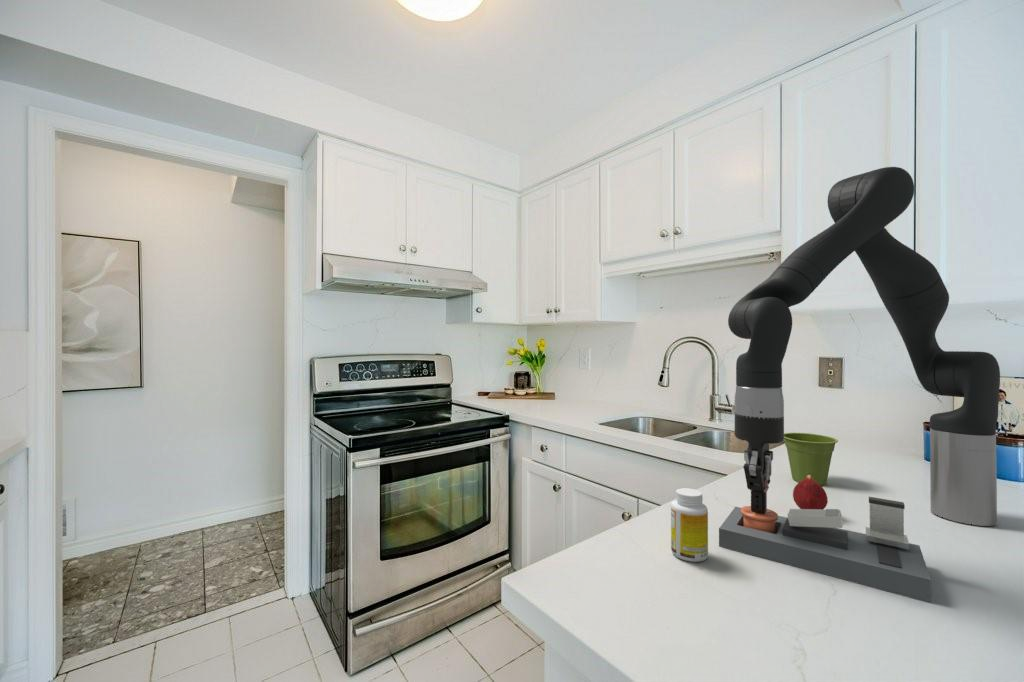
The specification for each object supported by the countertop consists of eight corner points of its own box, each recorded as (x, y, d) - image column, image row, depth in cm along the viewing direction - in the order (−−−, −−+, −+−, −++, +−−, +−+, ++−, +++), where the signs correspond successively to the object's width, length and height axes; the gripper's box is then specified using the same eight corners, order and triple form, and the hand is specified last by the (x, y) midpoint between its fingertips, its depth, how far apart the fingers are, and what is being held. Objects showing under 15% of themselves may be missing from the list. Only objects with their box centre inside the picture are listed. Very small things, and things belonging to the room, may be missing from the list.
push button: (744, 527, 79) (744, 503, 79) (780, 536, 76) (779, 510, 76) (737, 538, 75) (737, 512, 75) (775, 547, 72) (775, 520, 72)
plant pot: (770, 476, 114) (770, 433, 114) (807, 473, 117) (806, 431, 117) (811, 490, 103) (811, 443, 103) (850, 487, 105) (850, 440, 106)
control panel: (735, 522, 84) (735, 501, 84) (919, 564, 68) (919, 538, 68) (719, 546, 73) (718, 522, 74) (931, 602, 57) (930, 572, 57)
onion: (833, 522, 84) (833, 480, 84) (800, 519, 85) (800, 478, 85) (818, 511, 90) (818, 472, 90) (788, 509, 91) (787, 470, 91)
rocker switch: (792, 518, 74) (789, 507, 74) (842, 520, 70) (839, 508, 70) (789, 526, 71) (787, 514, 71) (842, 528, 67) (839, 515, 67)
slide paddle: (865, 531, 71) (865, 494, 71) (906, 540, 68) (906, 500, 68) (866, 540, 68) (865, 500, 68) (909, 549, 65) (908, 508, 65)
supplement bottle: (715, 559, 69) (715, 494, 69) (690, 566, 67) (690, 499, 67) (687, 544, 74) (687, 484, 74) (663, 551, 72) (663, 489, 72)
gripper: (778, 419, 68) (778, 530, 68) (788, 410, 79) (788, 506, 78) (726, 414, 73) (726, 518, 73) (742, 406, 83) (742, 497, 83)
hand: (758, 512), depth 75 cm, fingers closed
